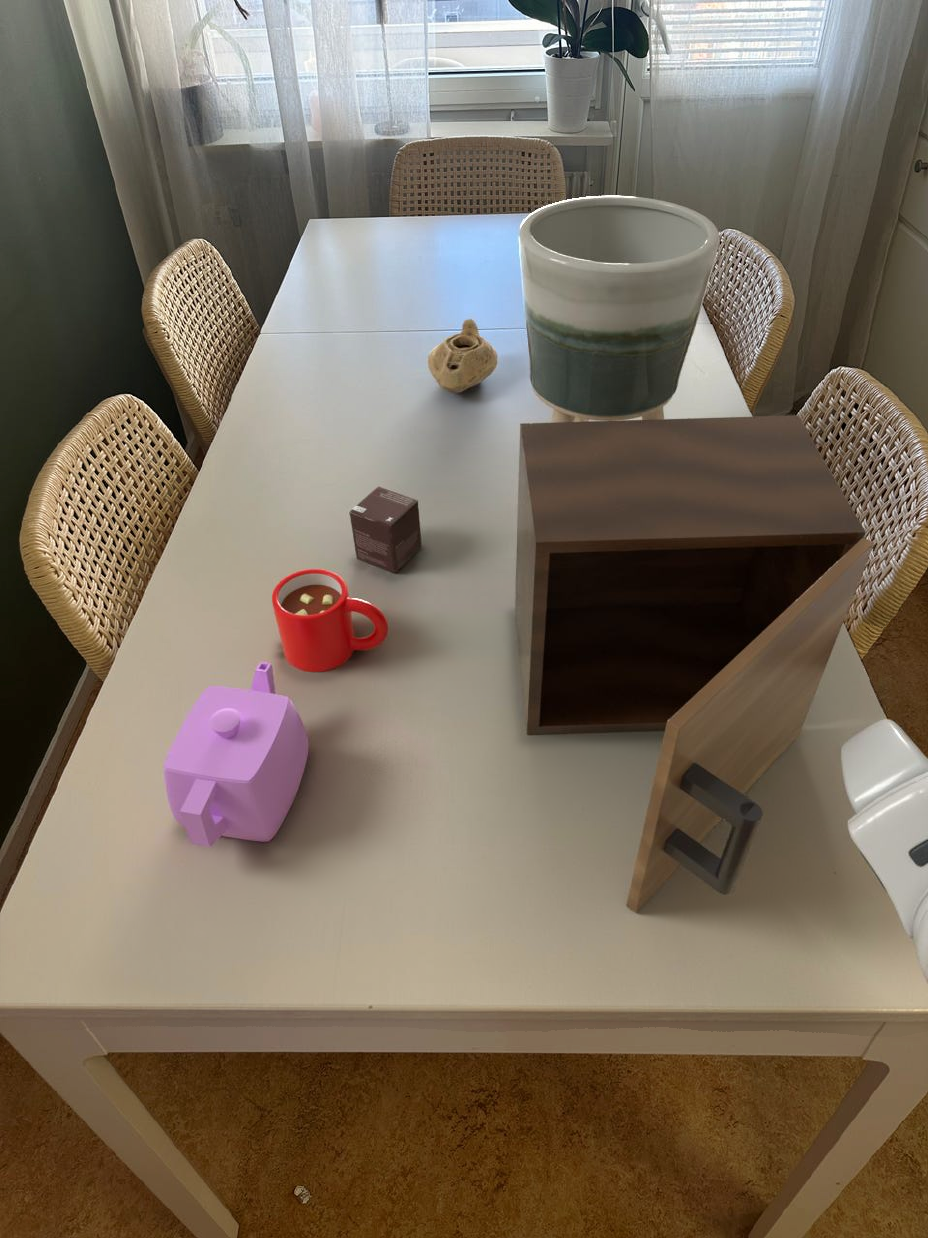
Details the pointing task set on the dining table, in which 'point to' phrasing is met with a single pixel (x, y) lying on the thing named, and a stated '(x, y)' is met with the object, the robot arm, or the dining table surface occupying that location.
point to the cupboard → (660, 558)
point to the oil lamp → (462, 359)
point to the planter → (612, 302)
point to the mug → (321, 620)
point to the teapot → (236, 762)
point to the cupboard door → (739, 737)
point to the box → (386, 529)
